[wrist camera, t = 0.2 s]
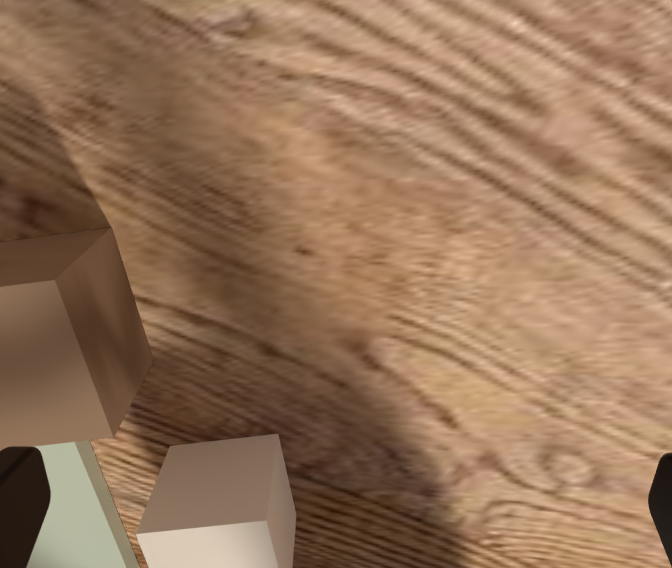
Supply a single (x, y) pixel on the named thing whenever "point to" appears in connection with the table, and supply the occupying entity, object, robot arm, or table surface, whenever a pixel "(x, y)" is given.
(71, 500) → the baseplate
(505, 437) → the table surface
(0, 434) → the walnut block
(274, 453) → the cream block
